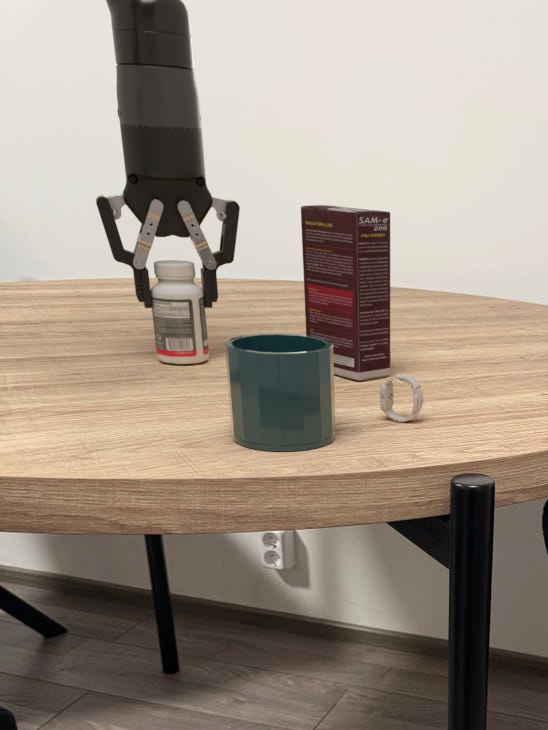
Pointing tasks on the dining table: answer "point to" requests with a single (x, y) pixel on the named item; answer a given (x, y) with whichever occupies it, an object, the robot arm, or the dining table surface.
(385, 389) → the grey marbled ring
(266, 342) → the cup
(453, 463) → the dining table surface
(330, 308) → the supplement box
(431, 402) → the dining table surface
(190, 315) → the pill bottle
